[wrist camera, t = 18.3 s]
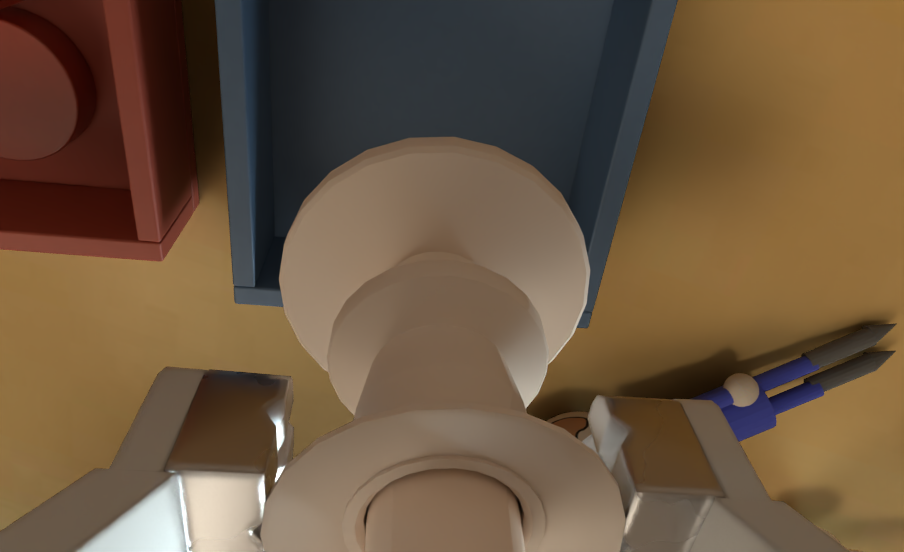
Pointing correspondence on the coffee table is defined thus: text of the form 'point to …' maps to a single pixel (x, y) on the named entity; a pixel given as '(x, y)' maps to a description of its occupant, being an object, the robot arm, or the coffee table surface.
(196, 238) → the coffee table surface
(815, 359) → the toy
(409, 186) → the candle
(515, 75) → the blue bin
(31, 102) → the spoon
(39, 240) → the red bin
